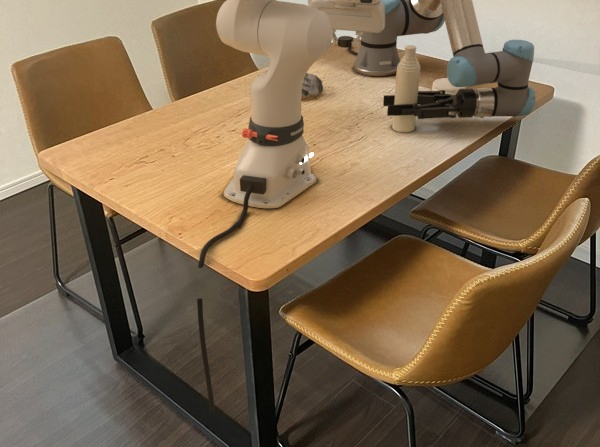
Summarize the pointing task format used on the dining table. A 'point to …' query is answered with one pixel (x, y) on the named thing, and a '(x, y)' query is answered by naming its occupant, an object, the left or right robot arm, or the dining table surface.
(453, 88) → the cream round flat disc
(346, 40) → the cap
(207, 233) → the dining table surface
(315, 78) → the rock
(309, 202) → the dining table surface
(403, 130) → the bottle
